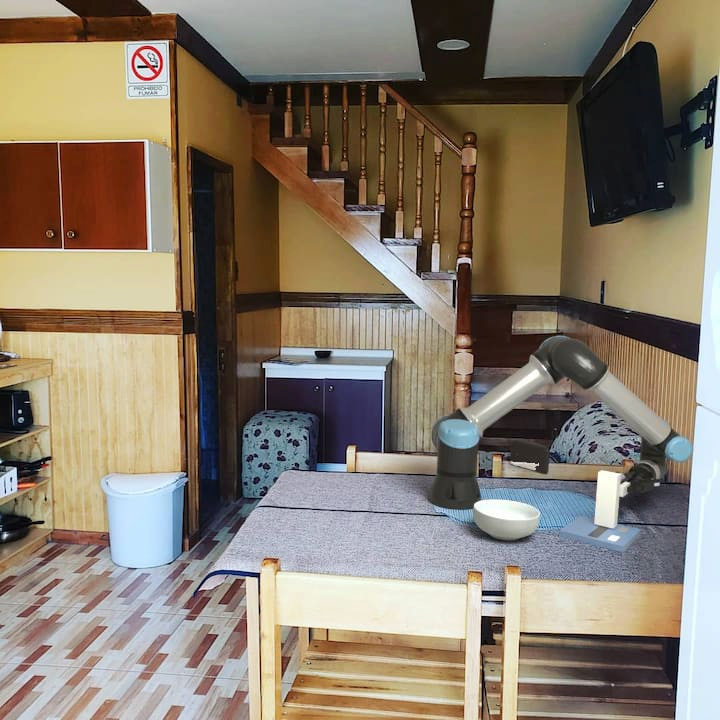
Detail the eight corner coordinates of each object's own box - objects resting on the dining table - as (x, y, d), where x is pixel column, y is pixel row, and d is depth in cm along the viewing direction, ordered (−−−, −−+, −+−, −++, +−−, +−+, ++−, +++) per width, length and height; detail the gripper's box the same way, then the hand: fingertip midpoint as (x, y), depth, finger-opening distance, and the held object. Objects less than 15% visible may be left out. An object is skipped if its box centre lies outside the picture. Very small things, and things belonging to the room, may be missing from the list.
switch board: (580, 520, 188) (580, 515, 188) (640, 535, 178) (641, 529, 178) (558, 536, 175) (559, 530, 175) (622, 552, 166) (623, 546, 165)
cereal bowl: (548, 547, 167) (550, 519, 166) (481, 547, 165) (483, 519, 165) (525, 524, 184) (527, 498, 183) (465, 523, 182) (466, 497, 182)
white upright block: (597, 521, 182) (601, 470, 181) (617, 525, 179) (621, 473, 178) (594, 524, 180) (598, 472, 179) (613, 528, 177) (617, 476, 176)
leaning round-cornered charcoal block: (553, 473, 238) (555, 446, 237) (546, 475, 235) (547, 448, 234) (516, 463, 250) (517, 438, 249) (508, 465, 247) (509, 439, 246)
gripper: (665, 491, 203) (644, 510, 184) (620, 482, 211) (596, 500, 192) (667, 466, 202) (646, 483, 183) (622, 459, 210) (597, 474, 191)
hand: (620, 491), depth 188 cm, fingers closed
